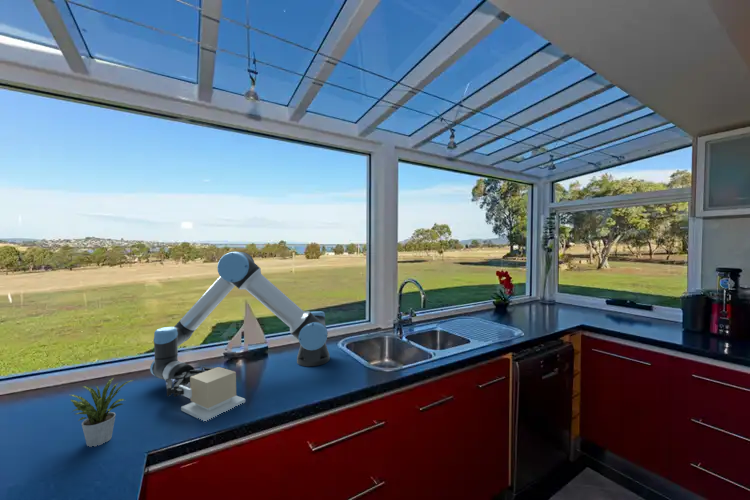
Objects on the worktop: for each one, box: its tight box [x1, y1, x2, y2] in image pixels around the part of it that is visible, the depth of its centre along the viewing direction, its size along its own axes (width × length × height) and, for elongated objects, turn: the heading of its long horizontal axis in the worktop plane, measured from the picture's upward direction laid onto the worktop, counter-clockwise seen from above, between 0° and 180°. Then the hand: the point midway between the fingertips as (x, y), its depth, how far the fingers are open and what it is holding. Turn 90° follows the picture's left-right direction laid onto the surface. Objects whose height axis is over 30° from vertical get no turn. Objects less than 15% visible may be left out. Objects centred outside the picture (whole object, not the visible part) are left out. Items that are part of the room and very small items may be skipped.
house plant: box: [70, 377, 134, 448], centre depth 87 cm, size 14×14×16 cm
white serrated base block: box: [180, 395, 246, 422], centre depth 104 cm, size 14×14×10 cm
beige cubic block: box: [189, 366, 237, 408], centre depth 104 cm, size 10×10×8 cm
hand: (211, 385), depth 104 cm, fingers open, 13 cm apart
